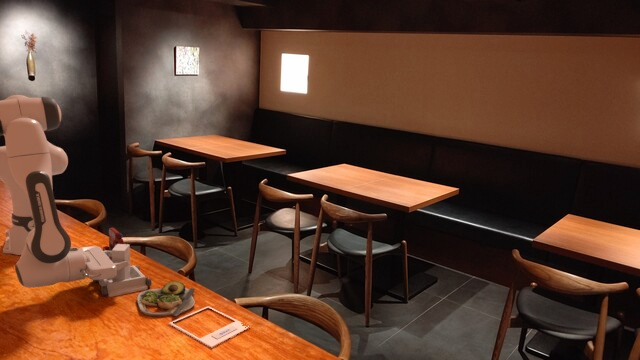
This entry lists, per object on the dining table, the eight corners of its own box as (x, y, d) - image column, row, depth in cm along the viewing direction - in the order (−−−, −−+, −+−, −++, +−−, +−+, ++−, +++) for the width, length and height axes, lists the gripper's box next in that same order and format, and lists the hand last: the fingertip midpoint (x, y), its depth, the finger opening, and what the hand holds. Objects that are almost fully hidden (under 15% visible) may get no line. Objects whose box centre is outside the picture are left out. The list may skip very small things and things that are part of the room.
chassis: (91, 280, 168) (91, 270, 167) (136, 271, 177) (136, 262, 176) (104, 298, 157) (104, 287, 156) (151, 288, 165) (151, 278, 165)
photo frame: (211, 346, 134) (168, 322, 144) (211, 349, 134) (168, 325, 144) (250, 326, 146) (208, 305, 156) (250, 329, 146) (208, 308, 156)
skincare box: (117, 277, 169) (117, 243, 167) (130, 277, 170) (130, 244, 167) (111, 285, 163) (111, 250, 161) (125, 285, 164) (125, 250, 161)
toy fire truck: (112, 265, 181) (111, 238, 178) (101, 254, 190) (100, 227, 187) (131, 262, 185) (131, 235, 183) (120, 251, 194) (119, 225, 192)
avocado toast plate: (203, 317, 151) (204, 303, 149) (140, 325, 143) (140, 310, 142) (192, 289, 168) (193, 276, 167) (135, 295, 161) (135, 282, 160)
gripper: (85, 268, 148) (133, 260, 156) (69, 245, 164) (113, 239, 172) (85, 288, 149) (133, 279, 158) (69, 264, 165) (113, 256, 173)
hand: (122, 258), depth 165 cm, fingers open, 8 cm apart
